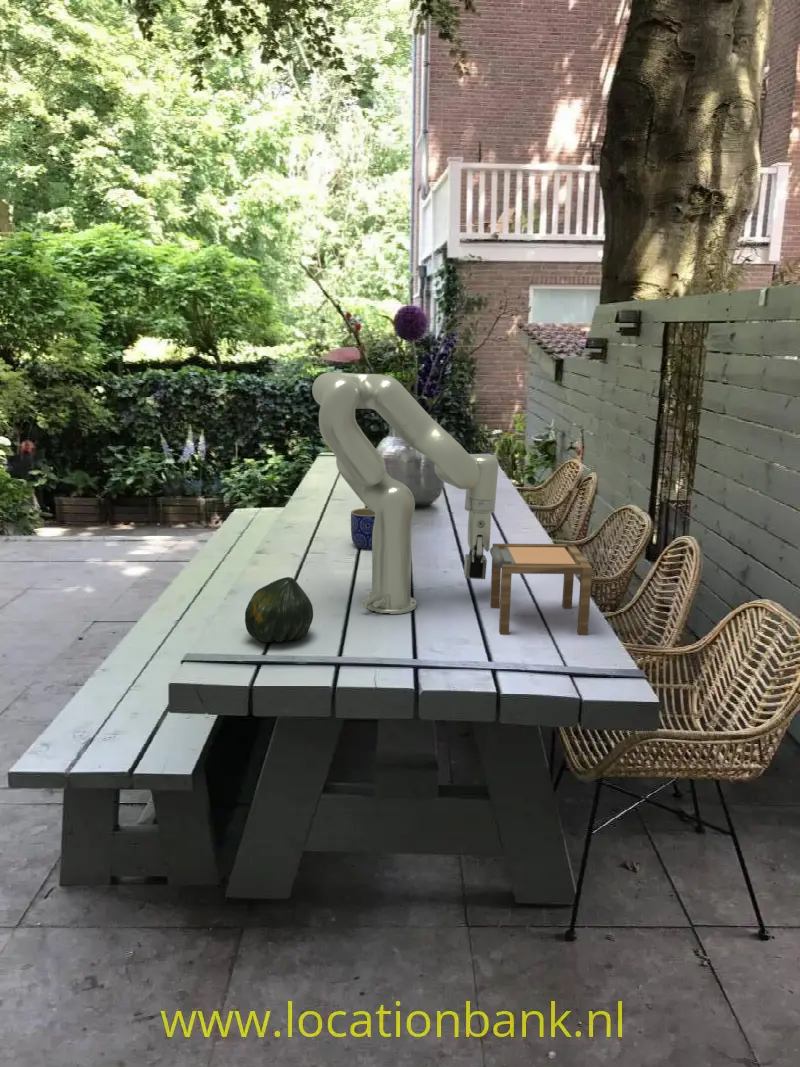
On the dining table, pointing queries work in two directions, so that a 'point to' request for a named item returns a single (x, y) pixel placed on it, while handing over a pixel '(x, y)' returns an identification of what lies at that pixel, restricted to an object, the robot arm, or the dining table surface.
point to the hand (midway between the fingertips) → (474, 573)
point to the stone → (467, 566)
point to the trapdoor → (531, 556)
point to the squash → (279, 612)
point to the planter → (362, 527)
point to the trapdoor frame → (567, 570)
